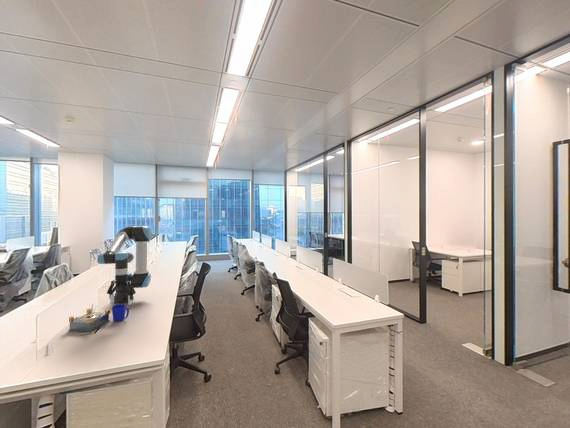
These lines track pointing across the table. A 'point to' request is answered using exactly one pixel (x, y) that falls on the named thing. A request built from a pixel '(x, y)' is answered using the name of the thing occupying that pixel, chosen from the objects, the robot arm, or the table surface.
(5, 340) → the table surface
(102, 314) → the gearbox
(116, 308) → the mug
